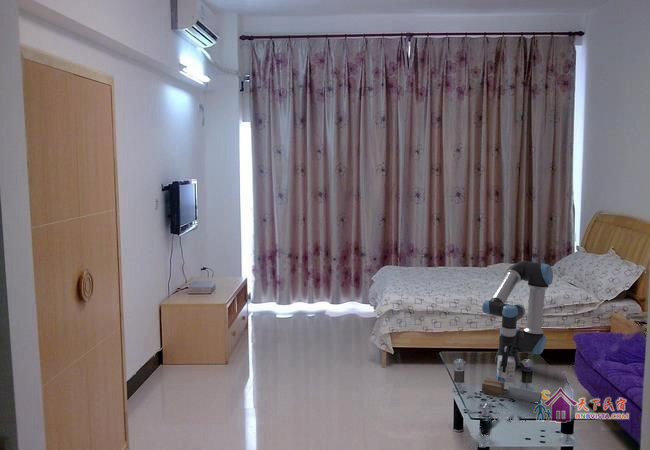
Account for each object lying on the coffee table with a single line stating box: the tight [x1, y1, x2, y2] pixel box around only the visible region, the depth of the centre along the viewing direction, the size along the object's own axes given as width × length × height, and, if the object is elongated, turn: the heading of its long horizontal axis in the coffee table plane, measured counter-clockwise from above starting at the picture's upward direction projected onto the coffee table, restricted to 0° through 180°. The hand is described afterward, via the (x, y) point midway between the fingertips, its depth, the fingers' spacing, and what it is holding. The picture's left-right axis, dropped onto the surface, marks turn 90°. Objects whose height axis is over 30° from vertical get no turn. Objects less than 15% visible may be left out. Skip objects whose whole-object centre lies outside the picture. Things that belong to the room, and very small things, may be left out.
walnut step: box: [481, 376, 506, 397], centre depth 317 cm, size 10×10×5 cm
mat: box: [503, 386, 542, 404], centre depth 312 cm, size 14×17×1 cm
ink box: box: [496, 355, 516, 384], centre depth 312 cm, size 8×8×12 cm
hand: (505, 374), depth 313 cm, fingers closed on ink box, 10 cm apart
